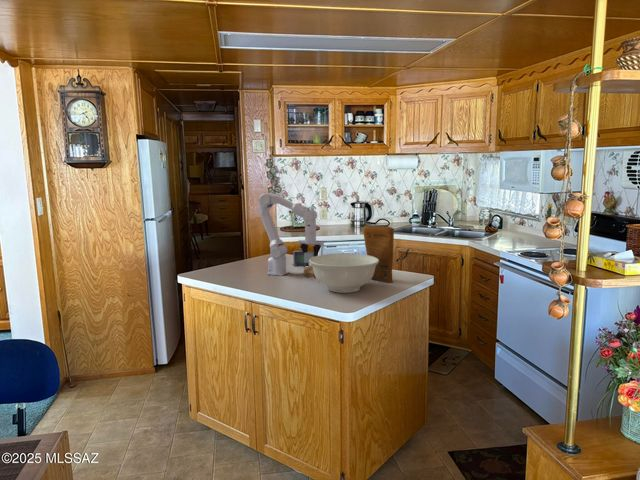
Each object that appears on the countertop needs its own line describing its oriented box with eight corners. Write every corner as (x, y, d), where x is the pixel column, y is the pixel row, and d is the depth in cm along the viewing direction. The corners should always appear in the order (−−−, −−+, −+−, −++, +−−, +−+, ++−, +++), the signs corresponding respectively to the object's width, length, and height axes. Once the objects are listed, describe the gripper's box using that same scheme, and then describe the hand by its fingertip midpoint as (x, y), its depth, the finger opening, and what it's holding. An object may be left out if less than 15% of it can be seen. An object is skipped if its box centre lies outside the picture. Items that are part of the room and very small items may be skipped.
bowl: (337, 277, 247) (337, 250, 244) (391, 287, 226) (391, 257, 224) (295, 290, 222) (295, 259, 220) (351, 302, 202) (352, 269, 199)
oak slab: (303, 272, 249) (303, 268, 249) (308, 270, 254) (308, 266, 254) (313, 273, 247) (313, 269, 247) (318, 271, 252) (317, 267, 251)
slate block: (304, 262, 248) (304, 253, 247) (308, 260, 253) (308, 251, 252) (312, 263, 246) (312, 253, 245) (316, 261, 251) (316, 252, 250)
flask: (292, 266, 275) (292, 248, 274) (294, 265, 278) (294, 247, 276) (308, 267, 273) (308, 248, 271) (309, 266, 276) (309, 248, 274)
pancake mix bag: (388, 284, 231) (389, 228, 227) (361, 278, 246) (361, 224, 241) (397, 282, 236) (398, 226, 231) (370, 276, 250) (370, 223, 246)
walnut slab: (303, 277, 250) (303, 272, 249) (308, 275, 255) (308, 270, 255) (313, 278, 247) (313, 273, 247) (318, 276, 252) (318, 271, 252)
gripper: (294, 233, 247) (295, 258, 249) (319, 234, 241) (320, 260, 243) (300, 231, 253) (301, 256, 255) (325, 233, 247) (325, 258, 249)
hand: (310, 258), depth 250 cm, fingers closed on slate block, 5 cm apart
